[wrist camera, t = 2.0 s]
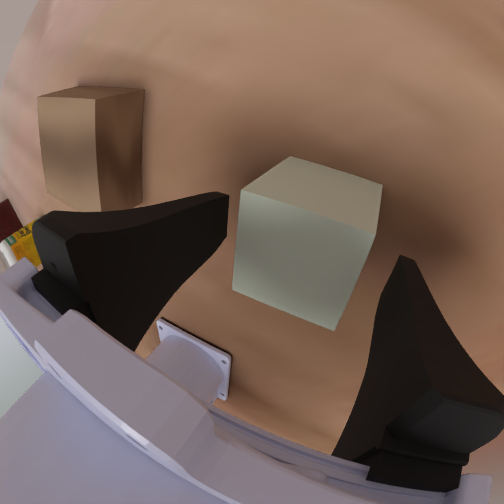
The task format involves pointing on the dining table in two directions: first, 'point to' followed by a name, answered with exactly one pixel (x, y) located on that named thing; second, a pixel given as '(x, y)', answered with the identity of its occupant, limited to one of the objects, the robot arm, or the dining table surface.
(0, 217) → the red lidded box
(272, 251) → the sage block
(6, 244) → the supplement bottle
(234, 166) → the dining table surface
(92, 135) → the walnut block
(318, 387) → the dining table surface
